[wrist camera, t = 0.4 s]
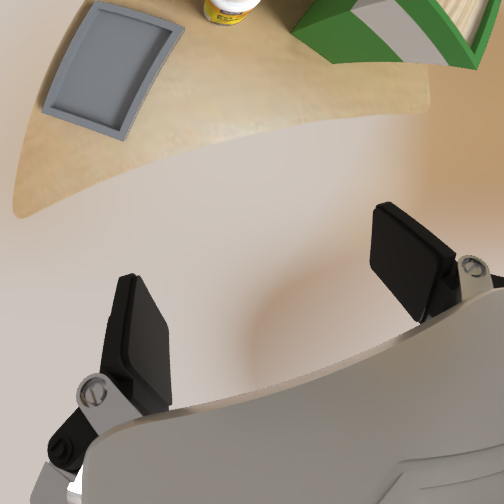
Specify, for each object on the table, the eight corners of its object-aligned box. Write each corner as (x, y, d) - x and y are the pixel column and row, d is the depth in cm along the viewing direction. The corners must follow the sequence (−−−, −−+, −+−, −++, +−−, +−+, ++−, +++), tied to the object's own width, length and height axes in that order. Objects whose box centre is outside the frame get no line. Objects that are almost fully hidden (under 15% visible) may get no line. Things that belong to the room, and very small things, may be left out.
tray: (99, 4, 19) (95, 0, 18) (184, 30, 25) (184, 27, 24) (47, 111, 26) (41, 112, 24) (126, 138, 31) (123, 141, 30)
